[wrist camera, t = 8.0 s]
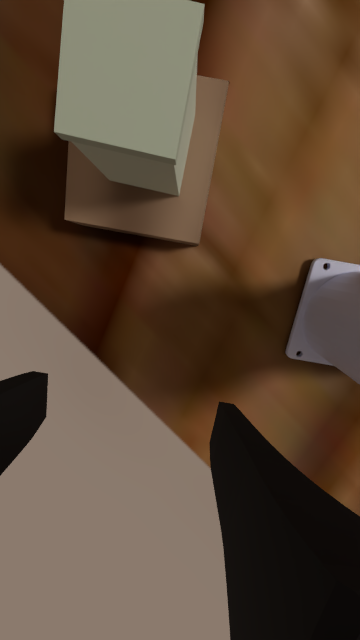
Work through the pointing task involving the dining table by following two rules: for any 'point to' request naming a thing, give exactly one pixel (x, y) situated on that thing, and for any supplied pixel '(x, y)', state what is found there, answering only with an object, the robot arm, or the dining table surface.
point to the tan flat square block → (144, 204)
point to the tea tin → (130, 87)
